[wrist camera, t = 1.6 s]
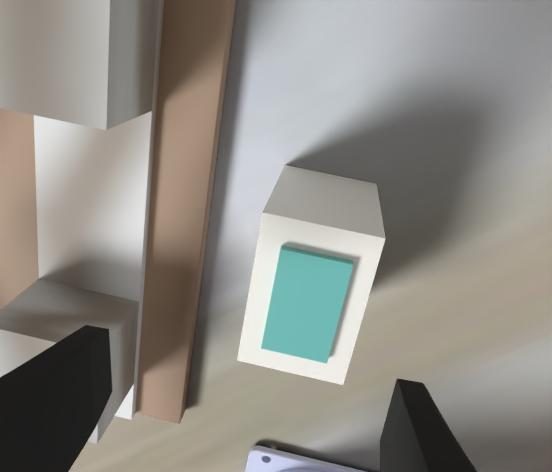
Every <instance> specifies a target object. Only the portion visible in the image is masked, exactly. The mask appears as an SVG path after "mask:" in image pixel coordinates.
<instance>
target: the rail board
mask: <svg viewBox="0 0 552 472" xmlns="http://www.w3.org/2000/svg"><path fill="white" fill-rule="evenodd" d="M235 8H236V0H0V377H1V376H3V375H5V374H7V373H8V372H10V371H12V370H14V369H15V368H17V367H19V366H20V365H22V364H23V363H25V362H27V361H28V360H30V359H32V358H33V357H35V356H37V355H38V354H40V353H41V352H43V351H45V350H46V349H48V348H49V347H51V346H53V345H54V344H56V343H57V342H59V341H60V340H62V339H64V338H65V337H67V336H68V335H70V334H72V333H73V332H75V331H77V330H78V329H80V328H82V327H83V326H85V325H89V326H95V327H101V328H107V329H109V337H110V355H111V373H112V390H113V391H112V393H111V396H110V398H109V400H108V402H107V404H106V407H105V409H104V411H103V413H102V415H101V417H100V419H99V421H98V423H97V426H96V428H95V429H94V431H93V433H92V434H91V436H90V438H89V439H88V442H92V443H96V444H97V443H98V442H99V440H100V438H101V437H102V435H103V433H104V432H105V430H106V429H107V427H108V425H109V424H110V422H111V420H112V419H113V417H114V416H118V417H122V418H127V419H131V420H132V418H133V416H134V414H135V413H137V414H141V415H146V416H150V417H154V418H158V419H162V420H166V421H170V422H175V423H179V424H180V421H181V419H182V417H183V414H184V412H185V408H186V400H187V392H188V384H189V376H190V368H191V360H192V352H193V344H194V336H195V328H196V320H197V312H198V304H199V296H200V288H201V280H202V272H203V264H204V256H205V248H206V240H207V232H208V224H209V216H210V208H211V200H212V192H213V184H214V176H215V168H216V160H217V152H218V144H219V136H220V128H221V120H222V112H223V104H224V96H225V88H226V80H227V72H228V64H229V56H230V48H231V40H232V32H233V24H234V16H235Z"/></svg>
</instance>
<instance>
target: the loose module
mask: <svg viewBox="0 0 552 472" xmlns="http://www.w3.org/2000/svg"><path fill="white" fill-rule="evenodd" d="M385 239H386V238H385V232H384V226H383V220H382V214H381V208H380V202H379V196H378V190H377V184H375V183H370V182H365V181H360V180H355V179H351V178H346V177H341V176H336V175H331V174H327V173H322V172H317V171H312V170H307V169H302V168H298V167H293V166H288V165H285V166H284V168H283V170H282V172H281V175H280V177H279V179H278V181H277V183H276V185H275V187H274V189H273V192H272V194H271V196H270V198H269V200H268V202H267V204H266V206H265V208H264V211H263V213H262V219H261V225H260V231H259V236H258V242H257V248H256V254H255V260H254V265H253V271H252V277H251V283H250V289H249V294H248V300H247V306H246V312H245V317H244V323H243V329H242V335H241V341H240V346H239V352H238V358H237V360H238V361H242V362H246V363H251V364H255V365H259V366H263V367H268V368H272V369H276V370H281V371H285V372H289V373H294V374H298V375H302V376H307V377H311V378H315V379H319V380H324V381H328V382H332V383H337V384H341V385H343V383H344V380H345V376H346V373H347V369H348V366H349V363H350V359H351V356H352V352H353V349H354V345H355V342H356V339H357V335H358V332H359V328H360V325H361V321H362V318H363V314H364V311H365V308H366V304H367V301H368V297H369V294H370V290H371V287H372V284H373V280H374V277H375V273H376V270H377V266H378V263H379V259H380V256H381V253H382V249H383V246H384V242H385Z"/></svg>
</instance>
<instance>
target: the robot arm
mask: <svg viewBox="0 0 552 472" xmlns="http://www.w3.org/2000/svg"><path fill="white" fill-rule="evenodd" d="M112 391H113V390H112V373H111V355H110V337H109V329H107V328H101V327H95V326H89V325H85V326H83V327H82V328H80V329H78V330H77V331H75V332H73V333H72V334H70V335H68V336H67V337H65V338H64V339H62V340H60V341H59V342H57V343H56V344H54V345H53V346H51V347H49V348H48V349H46V350H45V351H43V352H41V353H40V354H38V355H37V356H35V357H33V358H32V359H30V360H28V361H27V362H25V363H23V364H22V365H20V366H19V367H17V368H15V369H14V370H12V371H10V372H8V373H7V374H5V375H3V376H1V377H0V472H68V471H69V470H70V468H71V466H72V465H73V463H74V462H75V460H76V458H77V457H78V455H79V454H80V452H81V450H82V449H83V447H84V446H85V444H86V442H87V441H88V439H89V438H90V436H91V434H92V433H93V431H94V429H95V428H96V426H97V423H98V421H99V419H100V417H101V415H102V413H103V411H104V409H105V407H106V404H107V402H108V400H109V398H110V396H111V393H112ZM265 456H268V457H265ZM245 472H366V471H362V470H358V469H354V468H350V467H345V466H341V465H337V464H333V463H329V462H325V461H321V460H317V459H312V458H308V457H304V456H300V455H296V454H292V453H288V452H283V451H279V450H275V449H271V448H267V447H263V446H253V447H252V448H251V449H250V452H249V456H248V461H247V466H246V471H245ZM380 472H477V471H476V470H475V468H474V467H473V465H472V464H471V462H470V460H469V459H468V457H467V456H466V454H465V453H464V451H463V450H462V448H461V446H460V445H459V443H458V442H457V440H456V439H455V437H454V435H453V434H452V432H451V430H450V429H449V427H448V425H447V424H446V422H445V420H444V419H443V417H442V415H441V413H440V412H439V410H438V408H437V406H436V405H435V403H434V401H433V399H432V397H431V396H430V394H429V392H428V390H427V388H426V387H425V385H424V384H423V383H420V382H414V381H408V380H403V379H397V380H396V384H395V388H394V391H393V395H392V399H391V402H390V406H389V410H388V413H387V417H386V421H385V425H384V428H383V432H382V436H381V439H380Z"/></svg>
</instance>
